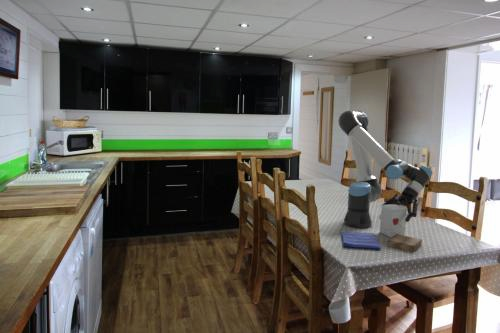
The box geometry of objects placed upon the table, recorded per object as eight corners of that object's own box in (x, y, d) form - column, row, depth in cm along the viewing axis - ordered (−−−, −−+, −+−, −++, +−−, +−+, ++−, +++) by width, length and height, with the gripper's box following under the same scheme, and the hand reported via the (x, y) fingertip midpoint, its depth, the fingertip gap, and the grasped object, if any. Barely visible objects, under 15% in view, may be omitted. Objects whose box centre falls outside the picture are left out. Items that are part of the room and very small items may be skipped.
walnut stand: (387, 246, 183) (388, 239, 182) (396, 239, 192) (396, 233, 192) (414, 252, 175) (414, 245, 175) (421, 245, 185) (421, 239, 184)
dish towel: (342, 249, 179) (343, 243, 179) (340, 233, 202) (340, 228, 202) (381, 252, 176) (381, 246, 176) (374, 236, 199) (374, 230, 199)
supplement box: (389, 237, 195) (391, 208, 193) (379, 232, 204) (381, 204, 201) (405, 236, 197) (407, 208, 195) (394, 231, 206) (396, 203, 204)
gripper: (436, 200, 195) (414, 233, 189) (395, 191, 216) (375, 220, 211) (430, 191, 191) (407, 224, 186) (389, 182, 213) (368, 212, 208)
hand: (390, 222), depth 198 cm, fingers open, 13 cm apart
